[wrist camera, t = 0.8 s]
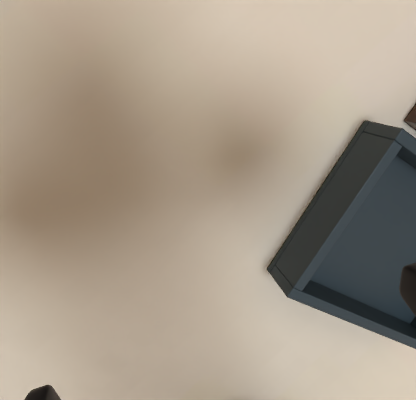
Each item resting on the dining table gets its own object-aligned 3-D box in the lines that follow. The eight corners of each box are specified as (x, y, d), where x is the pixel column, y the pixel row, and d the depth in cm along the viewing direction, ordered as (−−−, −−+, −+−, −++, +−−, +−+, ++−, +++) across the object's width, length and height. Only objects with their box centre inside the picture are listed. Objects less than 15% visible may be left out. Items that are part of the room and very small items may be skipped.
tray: (405, 329, 32) (436, 357, 29) (266, 269, 26) (286, 297, 23) (495, 215, 30) (540, 232, 27) (364, 119, 24) (402, 128, 20)
